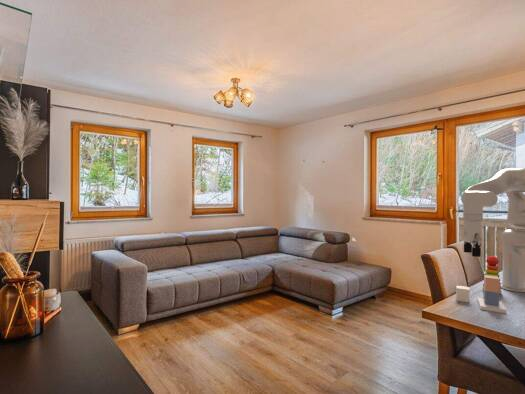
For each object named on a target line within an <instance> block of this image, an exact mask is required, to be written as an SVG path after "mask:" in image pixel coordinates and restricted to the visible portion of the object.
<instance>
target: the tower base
mask: <svg viewBox="0 0 525 394" xmlns="http://www.w3.org/2000/svg"><path fill="white" fill-rule="evenodd" d="M476 300H477V304H478V306H479V309H480V310H481V311H482V310H484V311H488V312H496V313H500V314H507V309H506V307H505V305H504V303H503V301H502V300H500V294H499V293H497V292H490V291H485V289H484V291H483V297H482V298H480V297H477V298H476Z"/></svg>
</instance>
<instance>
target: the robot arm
mask: <svg viewBox="0 0 525 394" xmlns="http://www.w3.org/2000/svg"><path fill="white" fill-rule="evenodd" d="M503 193H505V194H506V196H507V198H508V208H507V216H506V222H507V225H508V226H510V227H514V228H521V229H513V228H512V229H510V228H509V229H505V230H504V231H502V233H501V235H500V239H501V240H500V241H501V244H502V280H501V281H502V282H500V283H501V285H500V287H501V289H502V290H507V291H511V292H517V293H525V253H524V251H523V250H525V230H523V229H525V167H521V168H520V167H519V168H505V169H501V170H500V171H498V172H497V173H496V174H495V175H494V176H493V177H490V179H488V180H484V181H482V182H478V183H475V184H473V185H471V186H469V187H468V188H467V189H466V190H464V191H463V193H462V194H461V198H460V200H461V204H463V205H462V206H463V208H462V209H463V212H462V213H463V214H462V221H463V224H462V231H461V232H462V233H461V239H462V241H463V253H468V254H469V253H471V257H474V258H475V257H477V258H479V257H481V256H482V255H481V253H482V249H481V248H482V242H483V240H482V237H483V235H482V233H483V231H482V229H483V228H482V222H483V215H484V208H490V207H494V206H496V205H497V203H498V200H499V199H498V195H501V194H503Z"/></svg>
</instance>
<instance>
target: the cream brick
mask: <svg viewBox="0 0 525 394" xmlns="http://www.w3.org/2000/svg"><path fill="white" fill-rule="evenodd" d="M455 287H456V288H455V300H456V302H463V303H470V294H471V293H470V287H469V286H463V285H457V284H456V286H455Z"/></svg>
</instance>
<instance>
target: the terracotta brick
mask: <svg viewBox="0 0 525 394" xmlns="http://www.w3.org/2000/svg"><path fill="white" fill-rule="evenodd" d="M499 278H500V277H499ZM499 278H498V276H489V275H485V274H484V275H483V284H484V289H485V291H490V292H497V293H499V289H500V283H501V282H500V281H501V278H500V279H499ZM500 290H501V289H500Z"/></svg>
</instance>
